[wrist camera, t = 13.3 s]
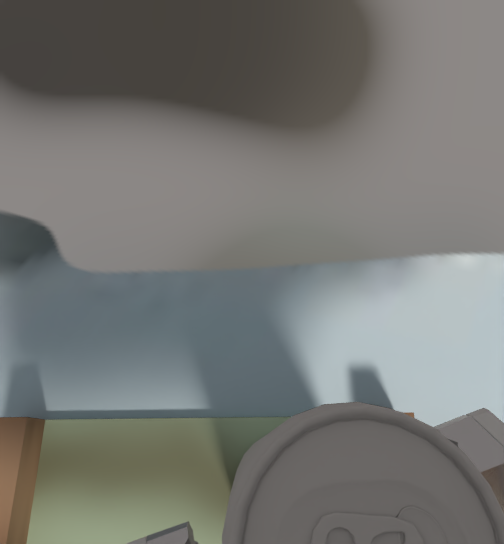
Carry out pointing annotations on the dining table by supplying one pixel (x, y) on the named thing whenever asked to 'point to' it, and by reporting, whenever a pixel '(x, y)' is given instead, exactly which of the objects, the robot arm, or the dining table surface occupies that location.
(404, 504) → the beverage can
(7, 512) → the box
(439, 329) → the dining table surface
